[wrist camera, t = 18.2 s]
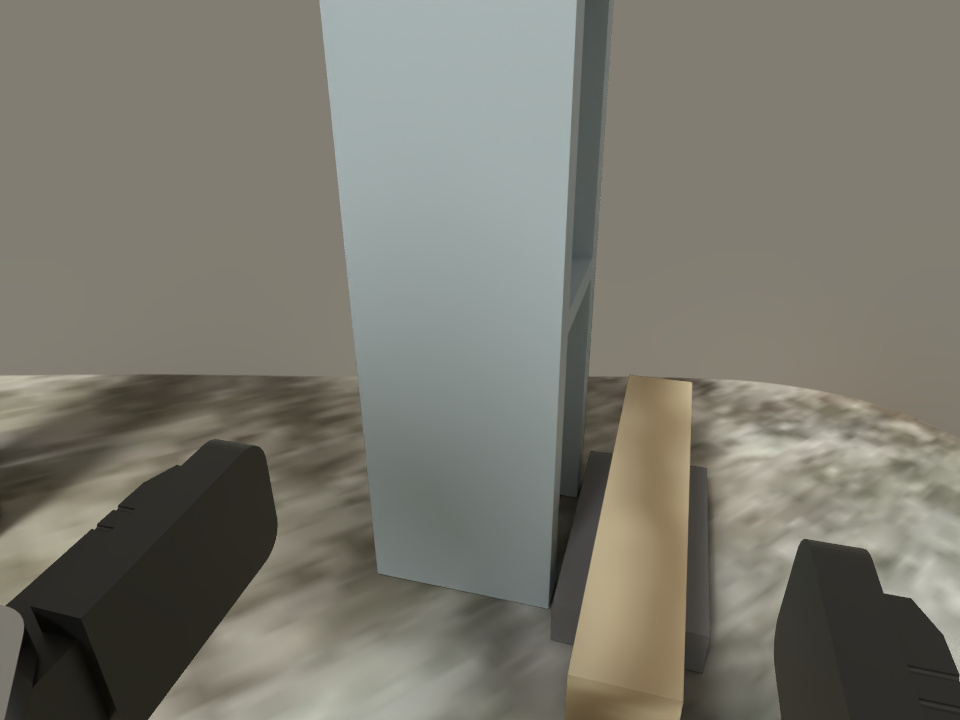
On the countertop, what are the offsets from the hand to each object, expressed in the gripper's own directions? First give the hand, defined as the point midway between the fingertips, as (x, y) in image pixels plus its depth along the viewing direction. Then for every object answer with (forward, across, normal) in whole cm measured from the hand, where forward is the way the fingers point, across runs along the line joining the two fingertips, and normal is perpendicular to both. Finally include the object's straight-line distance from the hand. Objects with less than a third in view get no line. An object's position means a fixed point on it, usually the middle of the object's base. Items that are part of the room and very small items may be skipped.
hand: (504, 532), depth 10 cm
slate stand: (+25, +6, +22) cm, 34 cm away
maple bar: (+21, -3, +20) cm, 29 cm away
